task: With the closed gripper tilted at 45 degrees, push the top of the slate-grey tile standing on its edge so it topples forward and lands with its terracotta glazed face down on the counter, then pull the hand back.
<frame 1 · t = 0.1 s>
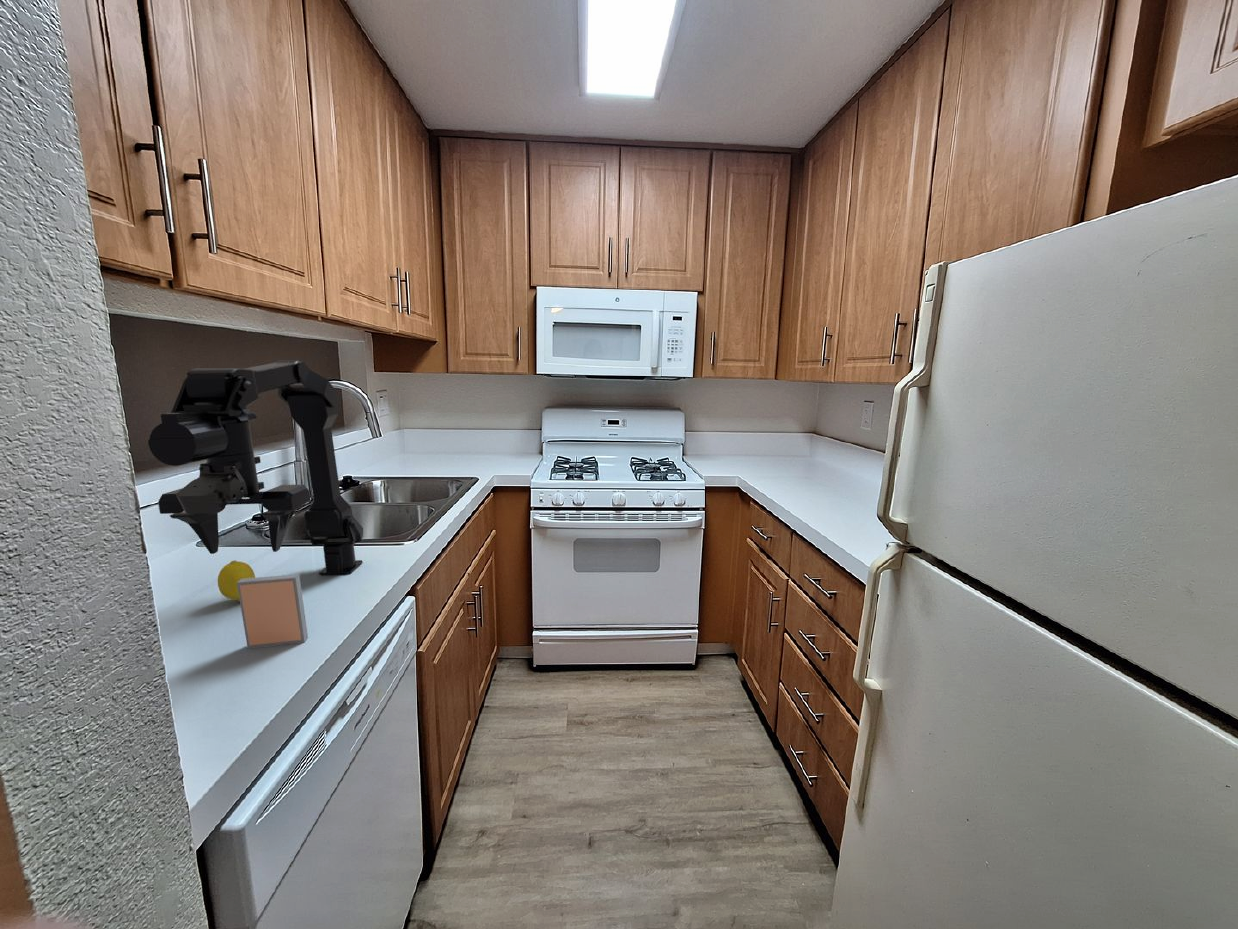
hand: (245, 552, 77), 15 cm above the worktop, tool pointing down, fingers open, 9 cm apart
lemon: (240, 601, 93), on the worktop
tile: (278, 643, 79), on the worktop
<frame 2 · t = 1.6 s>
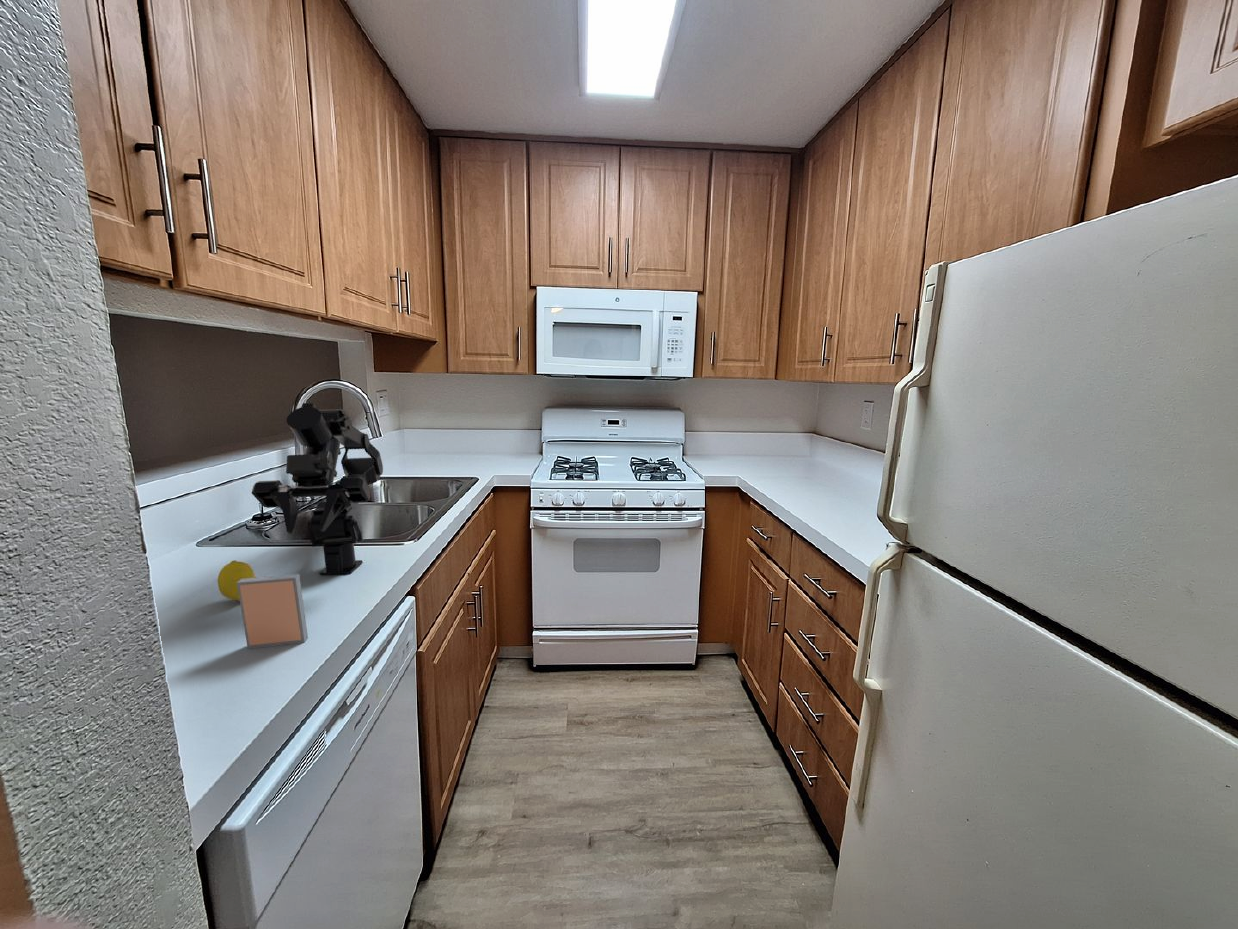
hand: (305, 531, 90), 14 cm above the worktop, tool tilted 45°, fingers open, 5 cm apart
nothing on the worktop moved.
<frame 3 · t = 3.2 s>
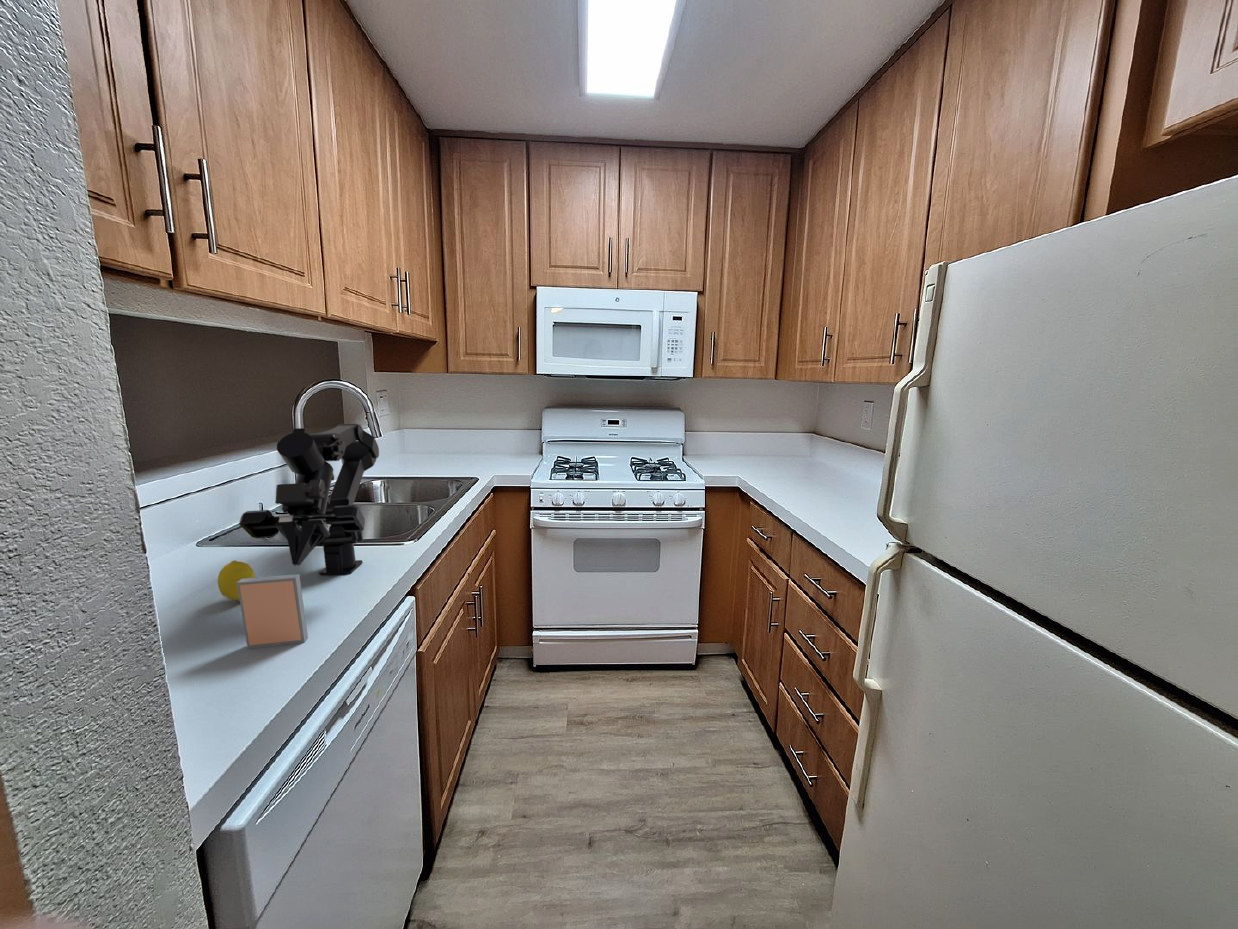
hand: (295, 564, 86), 9 cm above the worktop, tool tilted 45°, fingers closed
nothing on the worktop moved.
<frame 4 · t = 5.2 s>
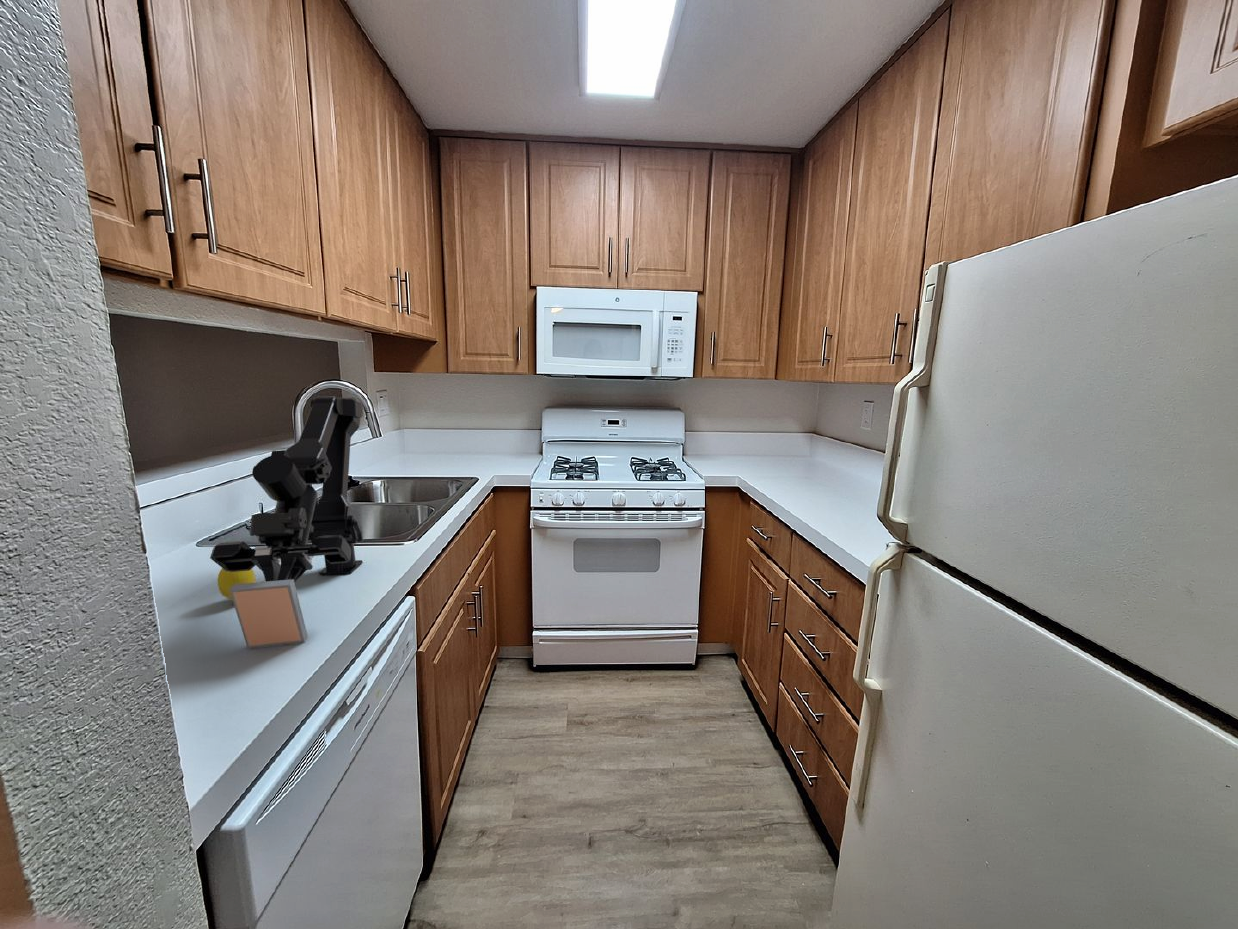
hand: (273, 603, 77), 7 cm above the worktop, tool tilted 45°, fingers closed
tile: (278, 642, 79), on the worktop, tilted 11°
everything else where it was.
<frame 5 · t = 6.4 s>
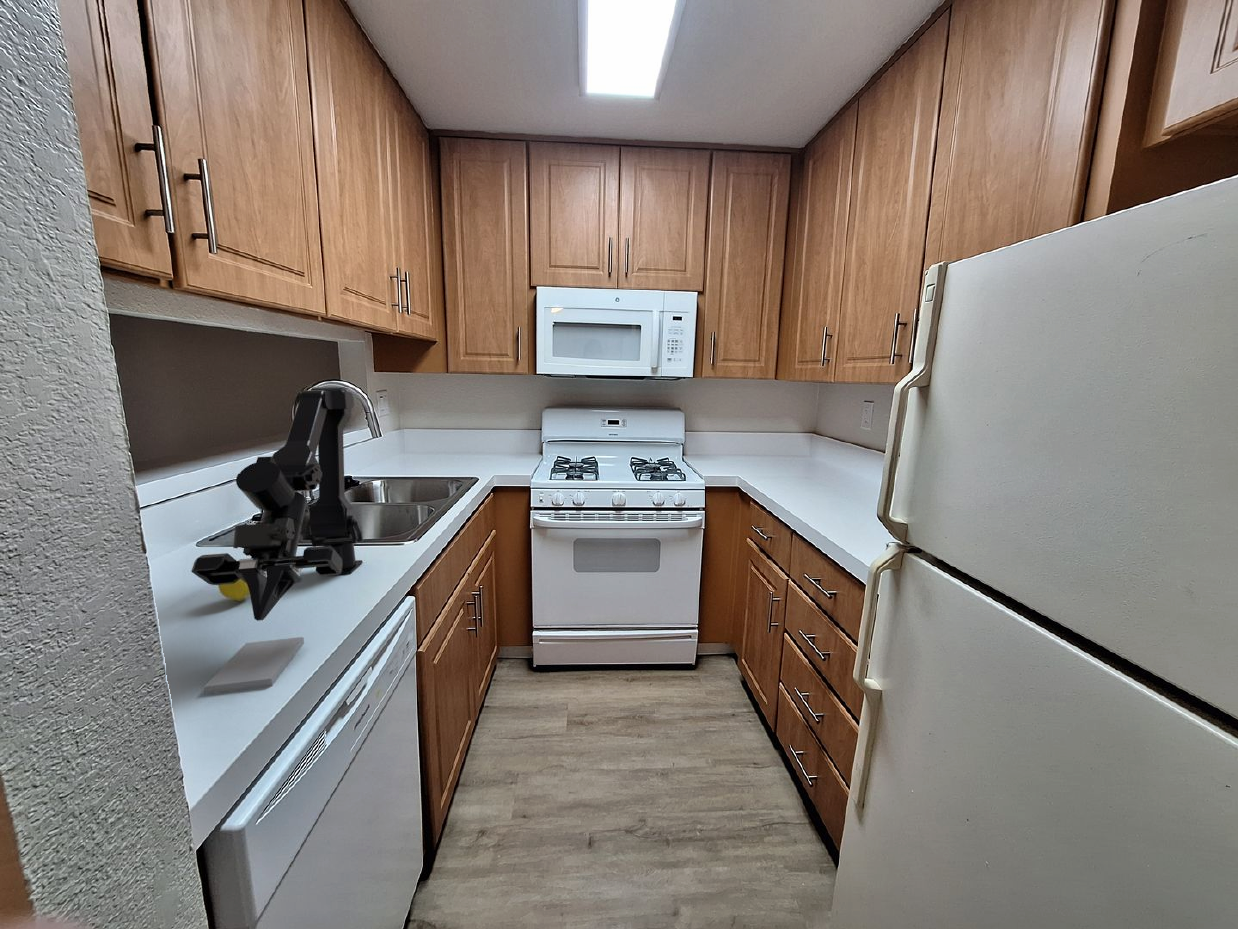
hand: (258, 619, 73), 7 cm above the worktop, tool tilted 45°, fingers closed
tile: (275, 644, 78), on the worktop, tilted 90°
everything else where it was.
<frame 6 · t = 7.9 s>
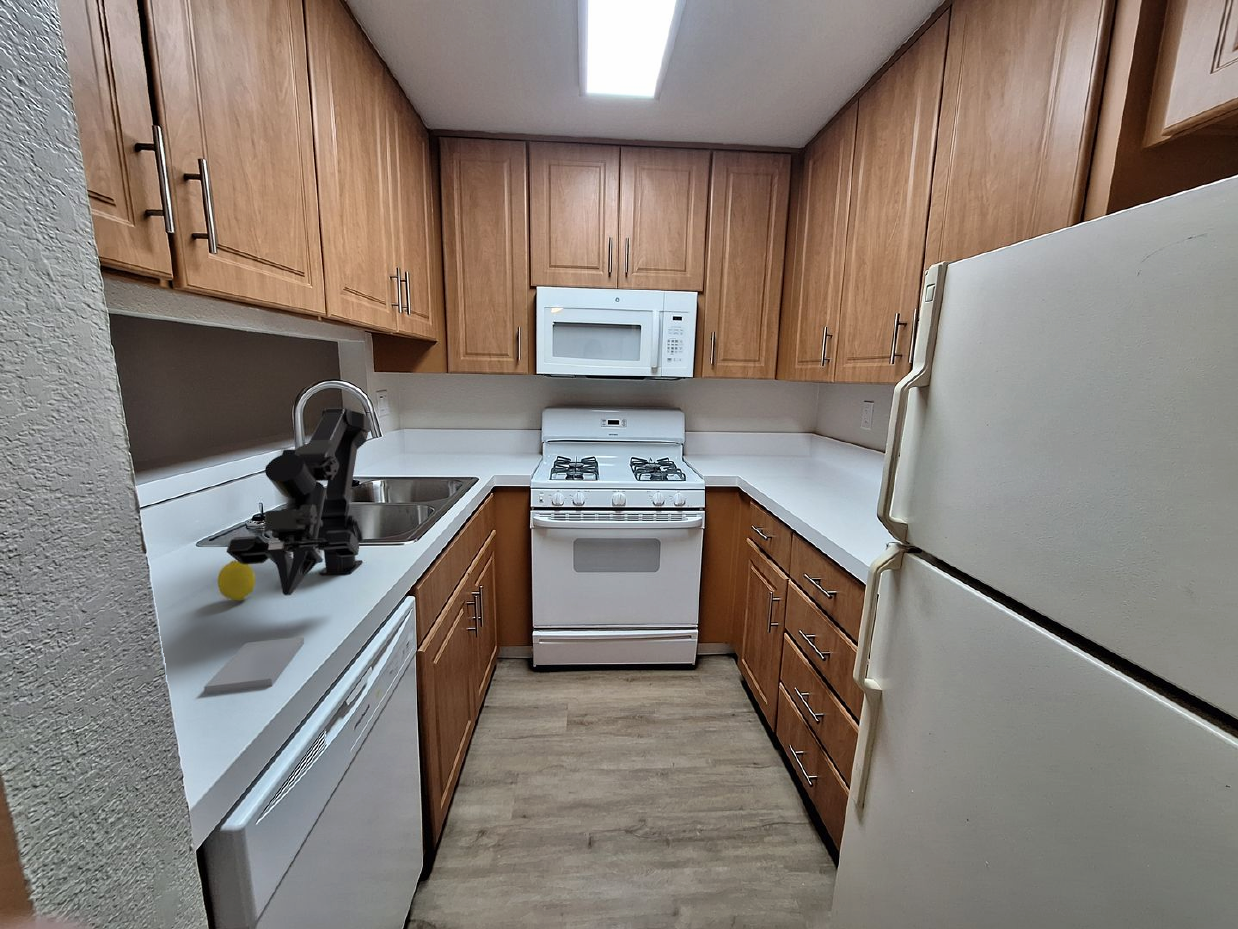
hand: (286, 594, 82), 6 cm above the worktop, tool tilted 45°, fingers closed
nothing on the worktop moved.
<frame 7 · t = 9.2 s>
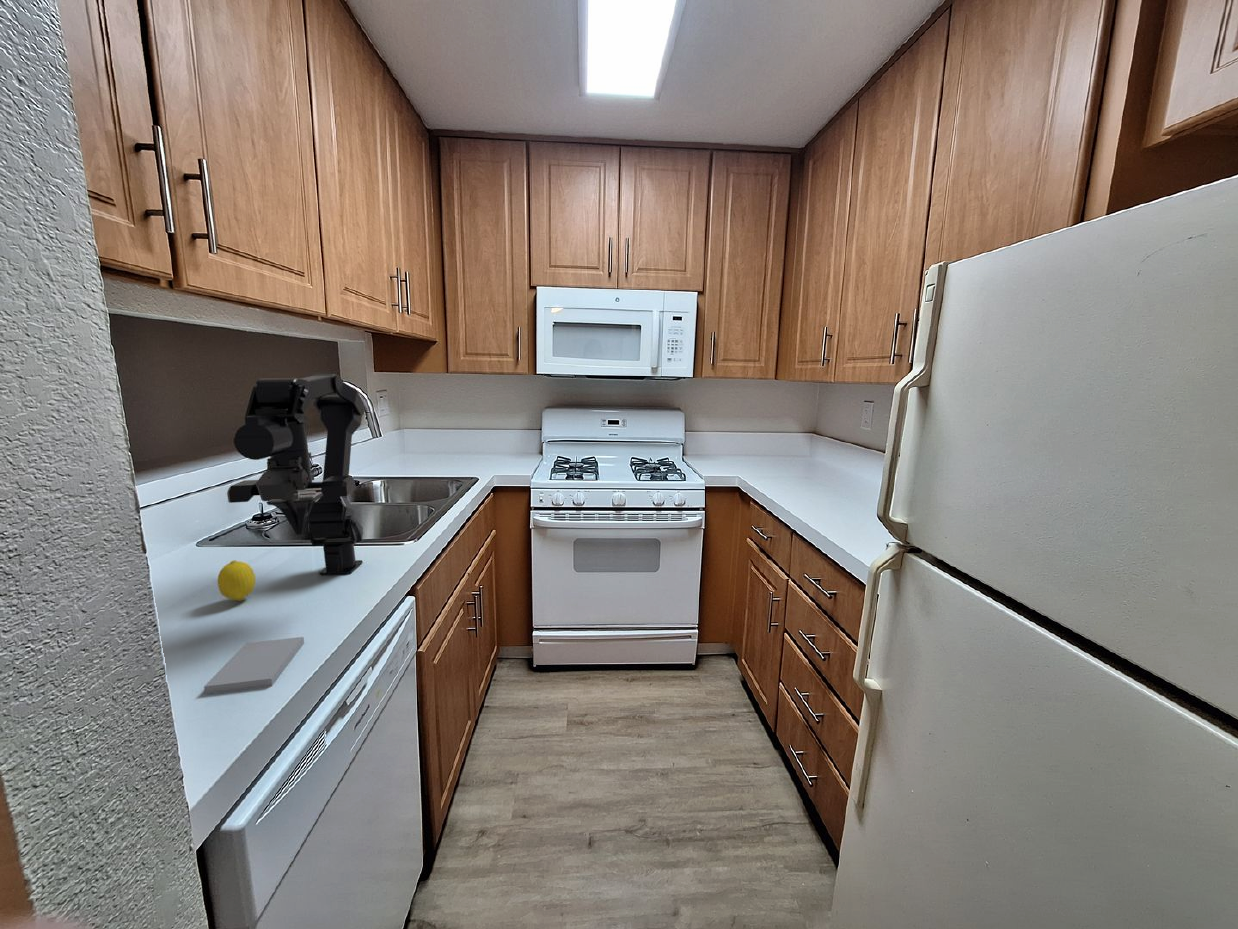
hand: (300, 534, 91), 13 cm above the worktop, tool pointing down, fingers closed
nothing on the worktop moved.
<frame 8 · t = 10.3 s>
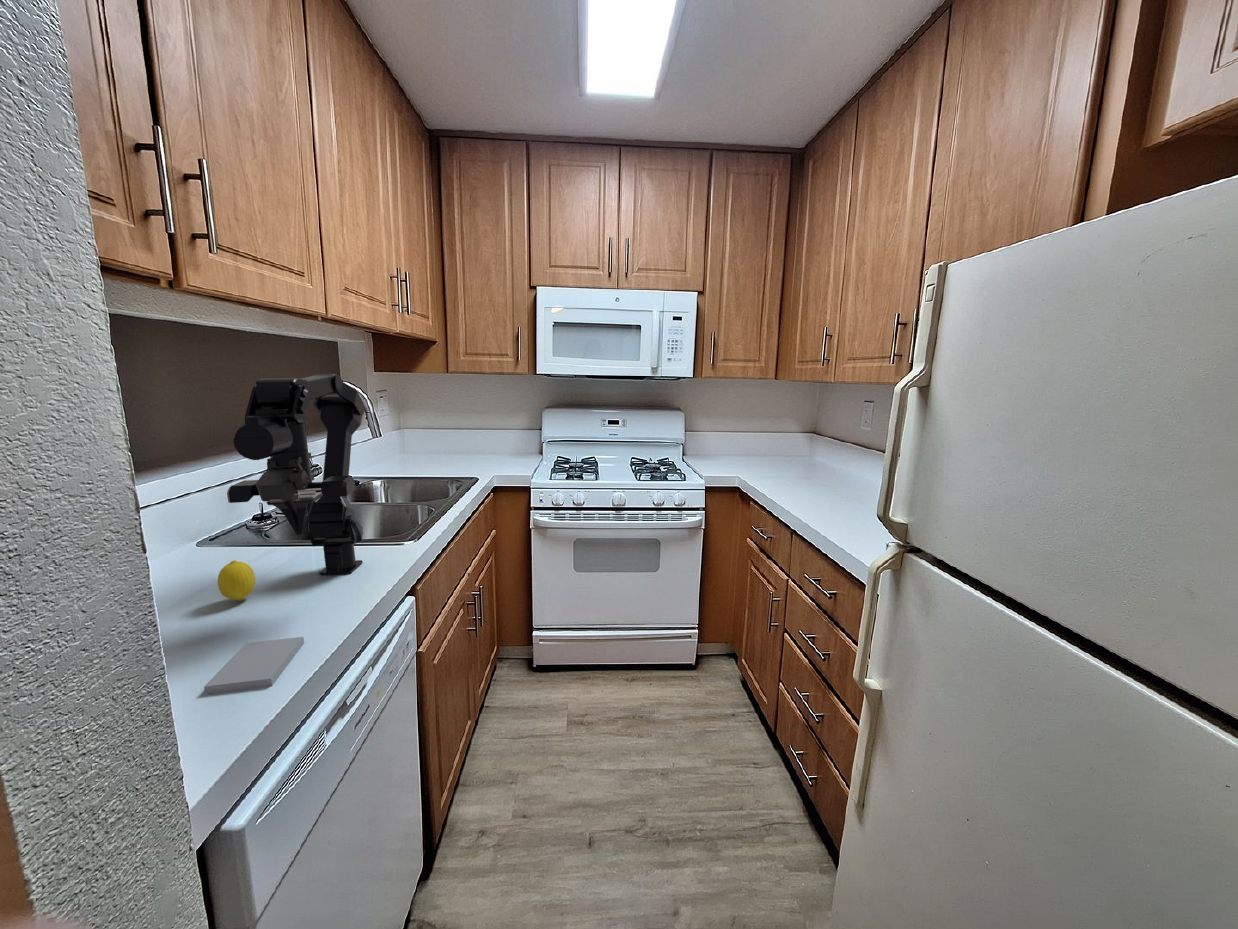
hand: (300, 534, 91), 13 cm above the worktop, tool pointing down, fingers closed
nothing on the worktop moved.
at the end: tile tilted 90°; tile inside the target area (2.3 cm from its centre), on the worktop; tile touching worktop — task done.
